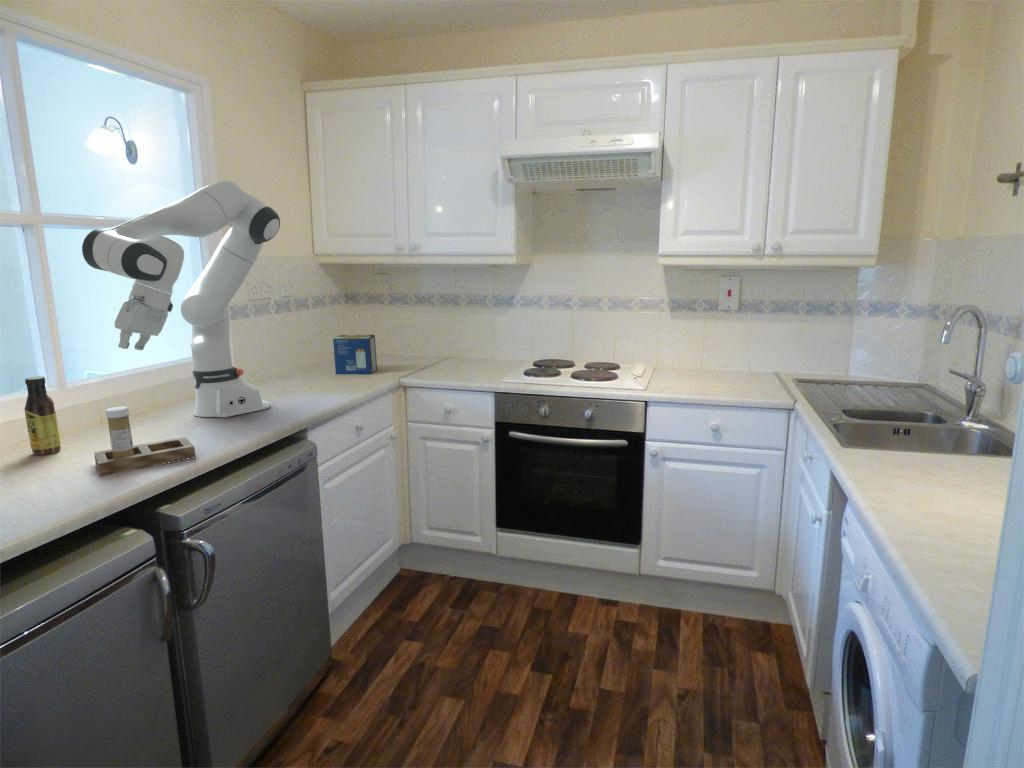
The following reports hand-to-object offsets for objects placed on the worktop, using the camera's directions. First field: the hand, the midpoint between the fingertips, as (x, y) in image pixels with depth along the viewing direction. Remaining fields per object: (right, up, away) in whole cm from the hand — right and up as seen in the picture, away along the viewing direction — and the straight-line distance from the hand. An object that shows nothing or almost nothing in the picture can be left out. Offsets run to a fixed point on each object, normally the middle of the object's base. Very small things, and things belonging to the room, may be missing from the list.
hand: (130, 349), depth 160 cm
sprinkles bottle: (+5, -28, -11) cm, 30 cm away
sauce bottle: (-22, -27, +1) cm, 35 cm away
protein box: (+32, -4, +105) cm, 110 cm away
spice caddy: (+9, -28, -8) cm, 30 cm away
